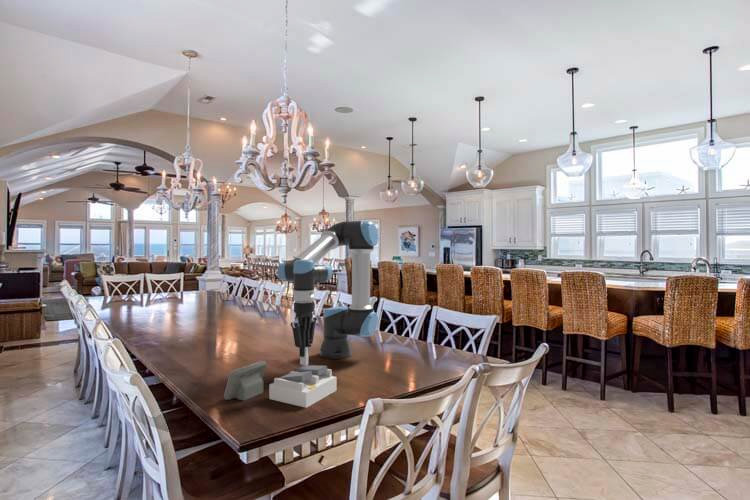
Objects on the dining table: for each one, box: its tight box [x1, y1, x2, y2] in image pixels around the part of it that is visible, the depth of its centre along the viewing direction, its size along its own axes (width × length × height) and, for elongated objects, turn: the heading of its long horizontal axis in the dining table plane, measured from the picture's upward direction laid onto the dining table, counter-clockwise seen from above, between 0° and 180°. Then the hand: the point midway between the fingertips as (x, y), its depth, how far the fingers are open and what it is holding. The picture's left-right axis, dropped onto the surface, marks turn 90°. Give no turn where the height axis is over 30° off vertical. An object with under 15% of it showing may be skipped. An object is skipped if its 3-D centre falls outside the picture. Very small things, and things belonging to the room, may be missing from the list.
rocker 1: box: [279, 371, 312, 382], centre depth 141 cm, size 10×5×2 cm, turn 62°
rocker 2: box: [295, 364, 328, 375], centre depth 149 cm, size 10×5×2 cm, turn 62°
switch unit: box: [268, 368, 338, 409], centre depth 145 cm, size 16×18×7 cm
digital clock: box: [223, 360, 267, 401], centre depth 144 cm, size 16×9×11 cm, turn 138°
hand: (304, 364), depth 150 cm, fingers closed
